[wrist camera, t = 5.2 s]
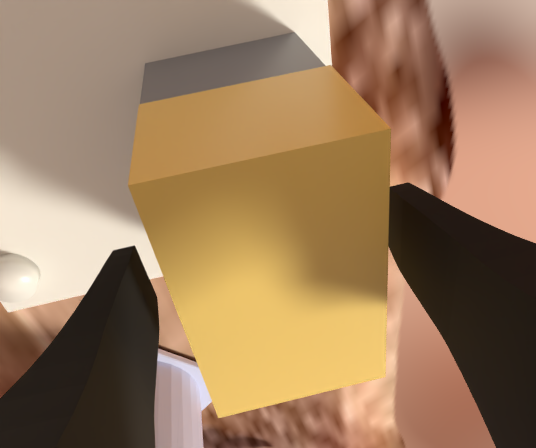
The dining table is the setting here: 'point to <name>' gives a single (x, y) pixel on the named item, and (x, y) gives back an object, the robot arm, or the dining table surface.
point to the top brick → (270, 232)
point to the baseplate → (97, 123)
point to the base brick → (226, 66)
